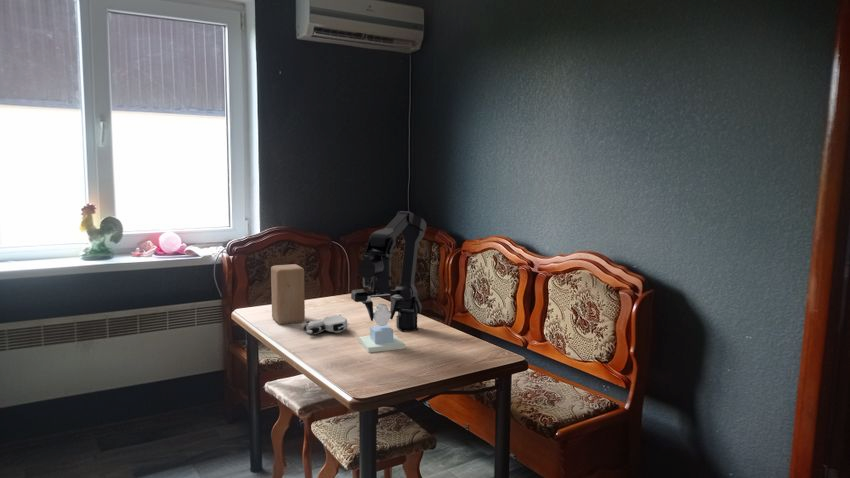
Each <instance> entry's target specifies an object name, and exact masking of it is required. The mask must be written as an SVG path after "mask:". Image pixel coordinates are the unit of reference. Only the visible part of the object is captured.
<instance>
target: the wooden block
mask: <svg viewBox="0 0 850 478" xmlns="http://www.w3.org/2000/svg"><path fill="white" fill-rule="evenodd" d="M270 282H271V289H270V290H271V318H272V319H273V320H274V321H275V322H276V323H277V324H278V325H285V324H294V323H304V321H305V320H306V313H305V305H306V304H305V303H306V302H305V269H304V268H303V267H302V266H300V265H298V264H295V263H293V264H278V265H276V264H275V265H273V266H271V267H270Z"/></svg>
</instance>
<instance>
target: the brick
mask: <svg viewBox="0 0 850 478" xmlns="http://www.w3.org/2000/svg"><path fill="white" fill-rule="evenodd" d="M393 334H394V329H393V328H392V327H390V326H389V325H388V324H387V325H385V326H378V325H376V326H375V325H373V326H369V336H370V339H371V340H372V341H373V342H374V343H375V344H381V343H391V342H393Z"/></svg>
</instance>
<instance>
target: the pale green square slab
mask: <svg viewBox="0 0 850 478" xmlns="http://www.w3.org/2000/svg"><path fill="white" fill-rule="evenodd" d="M358 343H359V344H360V345H361V346H362V347H363V348H364V349H365V351H367V353H375V352H384V351H393V350H394V351H395V350H405V349H406V344H405V342H404V341H402V340H401V339H400V338H399V337H398V336H397V335H396V334H395V333H393V342H391V343H381V344H375V343H374V342H373V341H372V340H371V339H370V335H365V336H358Z"/></svg>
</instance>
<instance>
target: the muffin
mask: <svg viewBox="0 0 850 478" xmlns="http://www.w3.org/2000/svg"><path fill="white" fill-rule="evenodd" d="M390 316H391V312H390V310H389V308H388V305H387V304H385V303H378V304H377V305H376V306H375V309H373V321H374V322H375V324H376V326H385V325H388V322H389V321H390V320H391V319H390Z"/></svg>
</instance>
